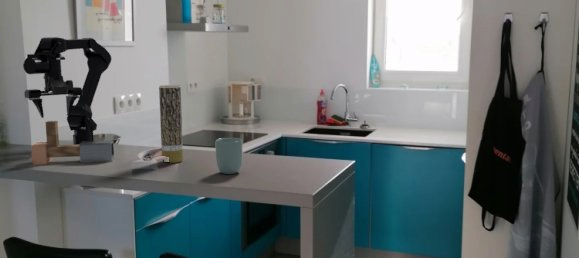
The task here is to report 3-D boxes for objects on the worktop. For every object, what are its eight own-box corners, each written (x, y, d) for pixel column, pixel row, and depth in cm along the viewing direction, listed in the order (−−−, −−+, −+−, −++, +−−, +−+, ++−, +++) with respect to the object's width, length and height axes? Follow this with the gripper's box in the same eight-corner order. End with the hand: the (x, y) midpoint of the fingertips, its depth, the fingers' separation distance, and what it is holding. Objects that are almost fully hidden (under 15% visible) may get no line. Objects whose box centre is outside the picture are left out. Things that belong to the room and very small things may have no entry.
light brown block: (52, 160, 196) (50, 141, 195) (46, 164, 189) (45, 145, 188) (38, 160, 195) (37, 142, 195) (32, 164, 189) (31, 145, 188)
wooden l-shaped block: (92, 154, 196) (90, 119, 194) (90, 156, 192) (88, 121, 191) (42, 155, 194) (40, 121, 192) (39, 157, 190) (37, 122, 189)
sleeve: (114, 158, 198) (113, 140, 197) (111, 161, 193) (110, 142, 192) (83, 159, 196) (82, 141, 196) (80, 162, 191) (79, 143, 190)
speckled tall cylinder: (185, 159, 194) (183, 84, 191) (179, 163, 188) (177, 86, 184) (165, 159, 195) (162, 85, 192) (159, 163, 188) (156, 86, 185)
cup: (229, 169, 179) (228, 136, 178) (248, 172, 174) (247, 139, 173) (211, 173, 173) (210, 140, 172) (229, 176, 168) (228, 142, 167)
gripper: (32, 74, 194) (35, 121, 196) (87, 72, 206) (90, 116, 208) (22, 73, 203) (25, 118, 205) (75, 71, 215) (78, 113, 217)
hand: (55, 116), depth 209 cm, fingers open, 9 cm apart
